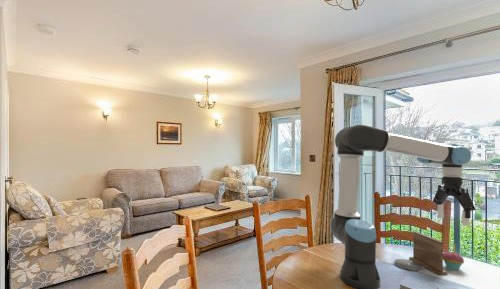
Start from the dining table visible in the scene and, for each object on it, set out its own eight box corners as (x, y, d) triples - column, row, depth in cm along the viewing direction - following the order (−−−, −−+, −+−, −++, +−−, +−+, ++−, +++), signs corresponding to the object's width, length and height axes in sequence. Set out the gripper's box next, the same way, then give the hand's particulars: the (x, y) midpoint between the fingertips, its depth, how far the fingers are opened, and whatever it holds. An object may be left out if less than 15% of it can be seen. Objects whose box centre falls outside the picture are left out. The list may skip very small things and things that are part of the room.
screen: (436, 274, 113) (436, 242, 114) (409, 259, 130) (409, 231, 131) (447, 274, 114) (447, 242, 114) (418, 259, 131) (418, 231, 131)
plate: (404, 271, 116) (405, 268, 116) (389, 261, 127) (389, 258, 127) (427, 270, 117) (427, 268, 117) (410, 260, 128) (410, 258, 128)
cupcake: (468, 273, 116) (468, 246, 117) (446, 270, 118) (446, 244, 118) (457, 265, 125) (457, 240, 125) (437, 263, 126) (437, 238, 127)
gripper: (485, 178, 111) (486, 229, 110) (437, 174, 136) (438, 215, 135) (469, 178, 110) (470, 229, 109) (424, 174, 135) (424, 215, 134)
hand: (452, 221), depth 122 cm, fingers open, 13 cm apart
